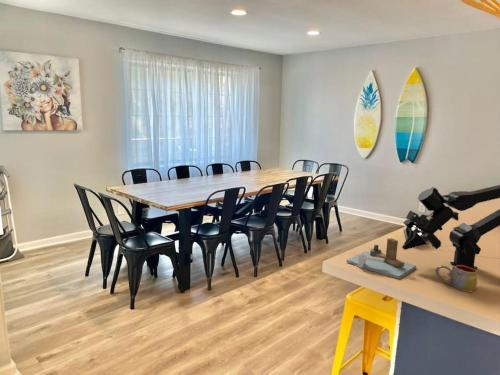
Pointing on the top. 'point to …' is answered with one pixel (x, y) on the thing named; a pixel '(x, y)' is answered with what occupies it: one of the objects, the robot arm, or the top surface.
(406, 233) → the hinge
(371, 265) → the board
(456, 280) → the mug
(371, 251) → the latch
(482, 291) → the top surface
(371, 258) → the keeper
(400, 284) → the top surface
